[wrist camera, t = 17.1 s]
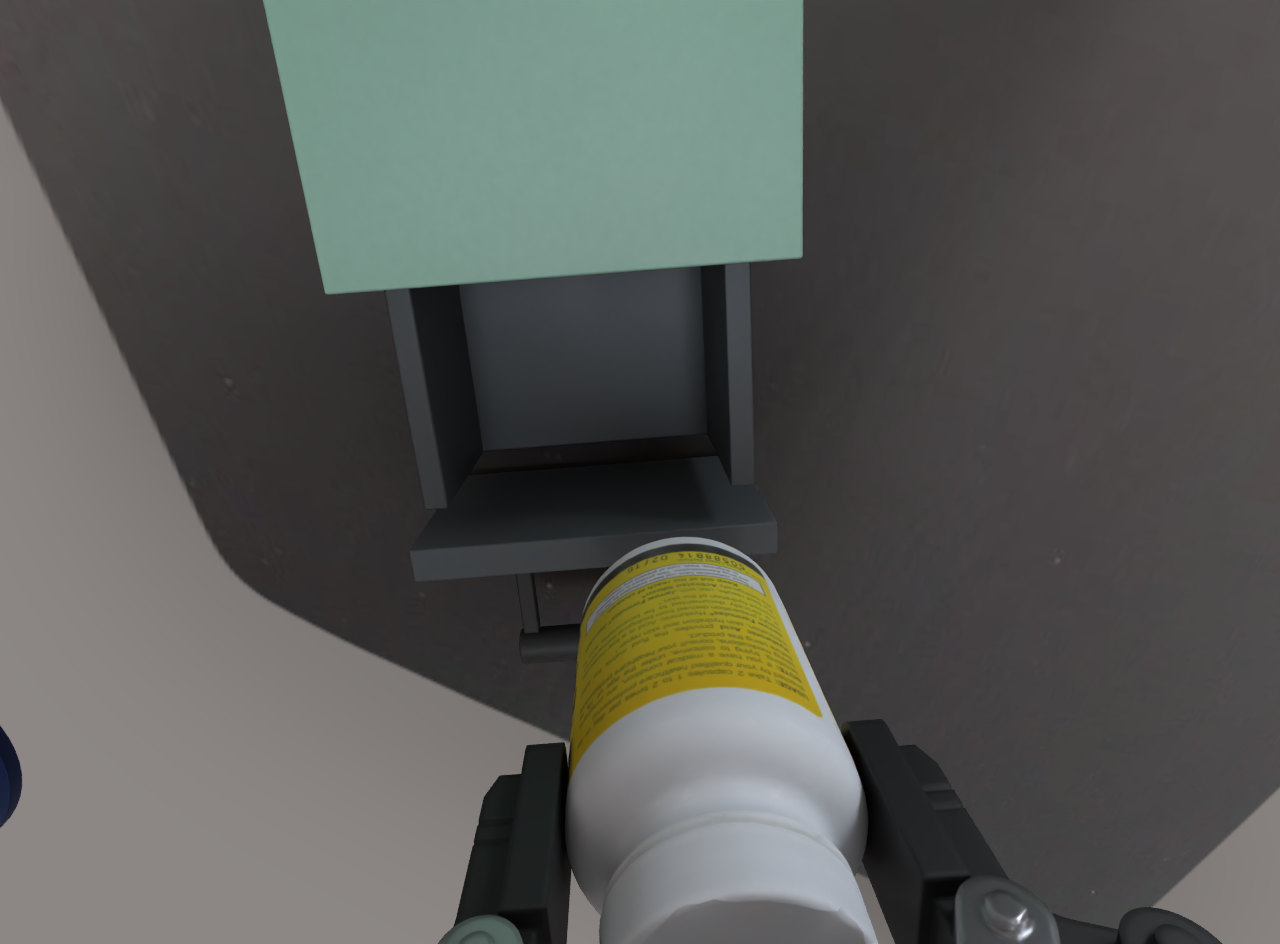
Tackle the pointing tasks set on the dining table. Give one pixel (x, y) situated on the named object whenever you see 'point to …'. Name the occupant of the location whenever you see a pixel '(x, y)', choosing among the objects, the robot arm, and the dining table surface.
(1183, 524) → the dining table surface
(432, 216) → the green drawer cabinet
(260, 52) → the dining table surface
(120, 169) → the dining table surface
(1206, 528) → the dining table surface
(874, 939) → the supplement bottle
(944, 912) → the robot arm
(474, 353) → the grey pull-out drawer
